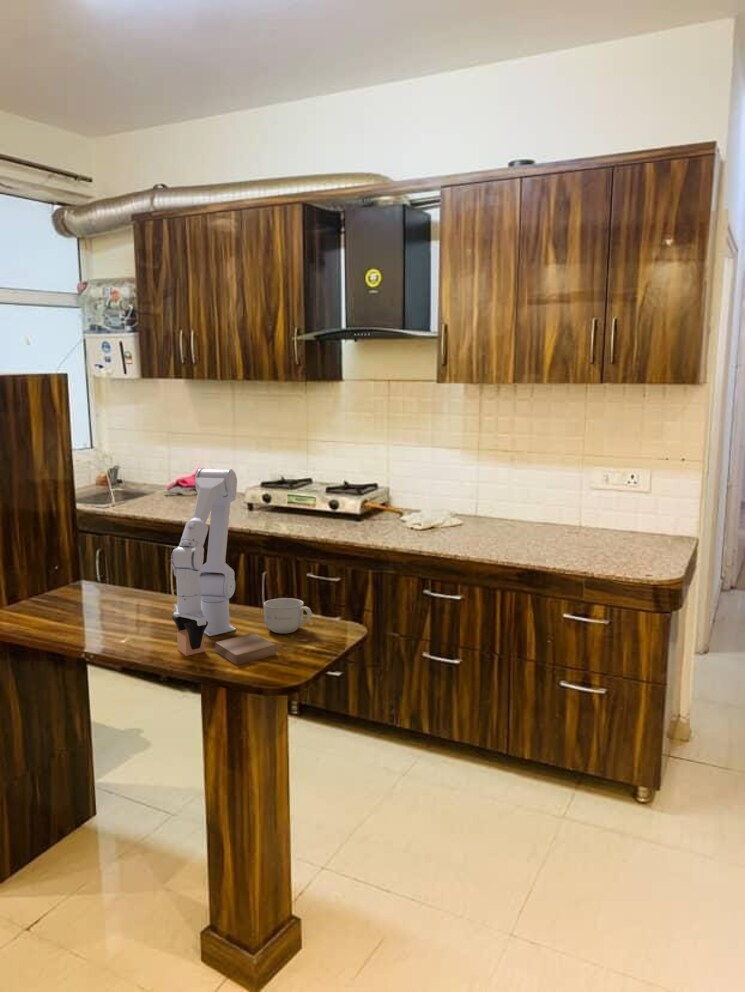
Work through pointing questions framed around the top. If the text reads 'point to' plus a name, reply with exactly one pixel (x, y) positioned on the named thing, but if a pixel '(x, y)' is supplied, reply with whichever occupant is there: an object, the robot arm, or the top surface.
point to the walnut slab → (245, 648)
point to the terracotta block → (187, 643)
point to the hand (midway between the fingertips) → (191, 645)
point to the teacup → (285, 614)
